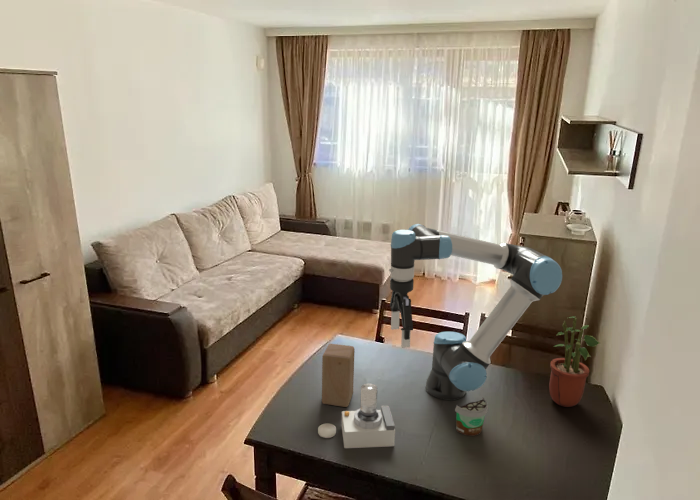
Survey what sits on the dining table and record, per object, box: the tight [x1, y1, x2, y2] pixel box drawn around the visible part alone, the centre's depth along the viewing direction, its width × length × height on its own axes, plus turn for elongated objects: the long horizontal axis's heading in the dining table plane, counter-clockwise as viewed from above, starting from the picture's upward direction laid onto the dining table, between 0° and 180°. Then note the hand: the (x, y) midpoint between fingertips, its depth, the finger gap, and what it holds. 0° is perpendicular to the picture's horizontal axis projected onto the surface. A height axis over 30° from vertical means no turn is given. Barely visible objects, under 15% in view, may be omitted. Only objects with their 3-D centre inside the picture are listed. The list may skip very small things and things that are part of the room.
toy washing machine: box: [340, 405, 396, 449], centre depth 163 cm, size 16×11×8 cm
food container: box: [454, 397, 489, 437], centre depth 166 cm, size 12×6×10 cm, turn 117°
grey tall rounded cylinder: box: [359, 383, 378, 422], centre depth 160 cm, size 5×5×12 cm
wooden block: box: [321, 343, 356, 408], centre depth 181 cm, size 10×10×20 cm
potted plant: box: [548, 315, 601, 408], centre depth 183 cm, size 17×16×35 cm
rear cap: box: [317, 422, 337, 439], centre depth 165 cm, size 6×6×2 cm
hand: (400, 337), depth 167 cm, fingers open, 13 cm apart
